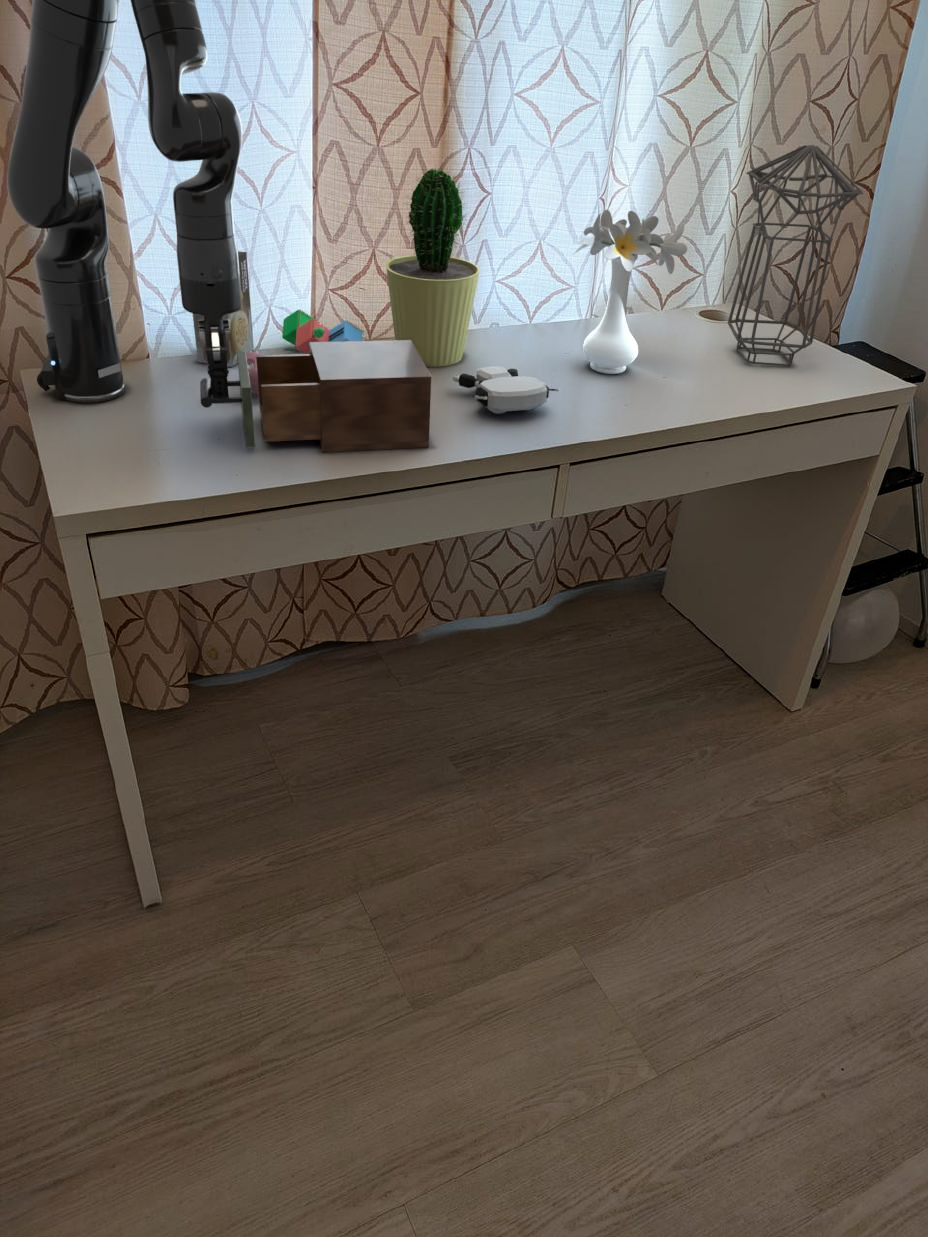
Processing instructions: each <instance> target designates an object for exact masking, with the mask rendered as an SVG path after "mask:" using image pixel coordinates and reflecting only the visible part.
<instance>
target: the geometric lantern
mask: <svg viewBox="0 0 928 1237" xmlns="http://www.w3.org/2000/svg"><path fill="white" fill-rule="evenodd" d="M806 158H807V161H806V165H805V168H804V172H803V176H802V177H801V176H800V177H799V176H798V177H797V176H794V177H793V176H792V175H793V174H794V173H795V172H796V171H797V169H798V168H799V167H800V166H801V164H802V163H803V161H804V160H805V159H806ZM812 163H813V164H812ZM778 164H779V165H778ZM811 164H812V165H813V171H814V174H810V175H809V172H810V169H811V168H810V167H811ZM818 164H819V166H820V168H821V169H822V172H823V173H819V168H818ZM776 165H778V166H776ZM773 166H776V167H774V169H772V170H770V171H769V172H765V171H764V170H767V169H769V168H772V167H773ZM788 171H789V173H788V174H787V175H786V173H787V172H788ZM827 171H828V172H829V174H830V175H829V174H828V173H827ZM746 175H748V178H749V182H750V186H751V191H752V194H753V197H752V200H753V201H754V202H755V203H758V207H757V208H758V209H757V222H753V223H752V228H751V232H750V237H749V240H748V245H747V247H746V252H745V255H744V258H743V259H744V260H743V263H742V267H741V271H740V275H739V279H738V282H737V286H736V290H735V294H734V298H733V301H732V306H731V309H730V311H729V316H728V320H727V325H728V327H729V329H730V330H731V332H732V334H733V336H734V338H735V340H736V341H737V344H736V349H735V350H736V351H737V353H738V354H739V355H740V356H741V357H742V358H743V360H744V361H745V362H746V363H747V364H752V365H761V366H762V365H764V366H780V367H791V366H792V365H793V360H794V357H795V354H797V353H798V352H799V351H801V350H803V349H806V348H807V347H809V346H810V345H812V344H813V343H814V335H815V331H816V325H817V319H818V315H819V309H820V305H821V298H822V294H823V289H824V288H823V287H824V283H825V279H826V278H825V277H826V272H827V268H828V262H829V257H830V251H831V246H832V243H833V241H834V239H833V237H834V234H835V231H836V229H837V228H836V227H837V225H838V222H839V219H840V216H841V212H842V210H845V207H846V206H847V205H849V204H850V203H851V202H852V201H853V200H855V198H857V197H858V196H859V195H863V194H864V191H863V190H861V188H859V186H857V184H856V183H855V182H854V181H853V180H851V178H850V177H849V176H848V175H847V174H846V173H845V172H844V171H843V170H842V169H841V168H840V167H839V166H838V164H836V163H835V162H834V161H833V160H832V159H831V158H830V157H829V156H828V155H827V154H826V153H825V152H824V151H823V150H822V148H820V146H818V145H815V144H813V145H812V144H808V145H806V144H804V145H802V146H799V147H797V148H796V149H794V150H791V151H790V152H787V153H785V154H783V155H781V156H779V157H777V158H774V159H772V160H770V161H768V162H766V163H764V164H762V165H760V166H757V167H756V168H753V169H751V170H748V171H747V172H746ZM827 178H830V179H831V178H832V179H833V181H834V192H832V193H831V192H830V193H822V191H821V185H820V184H821V183H822V182H823V181H824V180H826V179H827ZM772 179H773V180H772ZM812 179H814V180H815V181H814V182H813V183H812V184H810V185H809V186H807V187H806V188H805V185H806V182H807V181H809V180H812ZM771 180H772V181H771ZM779 180H782V182H781V183H780V184H779V185H778V186H777V185H775V184H776V183H777V182H778V181H779ZM788 181H791V182H801V183H800V185H799V189H791V188H786V186H787V183H788ZM813 188H816V189H815V190H816V192H809V191H811V190H812V189H813ZM839 188H840V189H841V191H842V192H839ZM760 189H761V190H762V189H764V190H763V192H762V194H761V195H760ZM769 190H770V191H774V192H776V194H777V195H778V196H777V197H776V199H774V202H773V203H772V205H771V206H770V208H769V209H768V210H767V212H766V214H765V215H764V209H763V204H762V202H763V200H764V198H765V197H766V196H767V194H768V192H769ZM802 197H812V198H813V197H815V198H816V200H815V207H814V208H815V209H807V207H806V204H805V203H804V200H803V198H802ZM789 198H793V199H798V200H797V207H796V206H795V205H794V203H792V202H791V201H790V200H789ZM822 198H823V199H824V198H834V200H833V201H831V202H829V203H827V204H825V205H822V206H821V207H819V203H820V200H821V199H822ZM780 199H782V200H783V201H784V202H785V203H786V204H787V205H788V206H789V207H790V209H791V210H792V211H793V212H794V215H793V216H792V217H791V218H790V219H789V220H788V221H787V222H786V223H781V222H780V223H779V222H766V221H767V219H768V217H769V216H770V214H771V213H772V212H773V210H774V208H775V207H776V205H777V204H778V202H779V201H780ZM842 202H843V203H842ZM841 203H842V204H841ZM801 205H802V207H803V210H801ZM828 208H830V209H829V210H828V212H827V213H826V214H825V216H824V217H823V219H822V220H821V216H820V212H821V211H824V210H826V209H828ZM836 208H837V209H838V212H837V217H836V219H835V222H834V226H833V228H832V231H831V233H830V235H828V234H827V233H826V232H825V231H823V225H824V224H825V222H826V221H827V220H828V218H829V217H830V215H831V214H832V213H833V211H834V210H835V209H836ZM810 214H811V215H812V214H815V216H816V220H817V226H814V224H813V223H812V220H811V218H810ZM798 215H806V218H807V219H808V222H809V224H803V223H802V224H800V223H799V224H798V223H791V222H792V221H793V220H795V218H797V216H798ZM766 226H777V227H778V226H779V227H781V228H780V229H779V230H778V231H777V232H776V233H775V234H774V235H773V236H770V235H768V234H767V231H766ZM786 227H800V228H807V229H806V230H807V231H806V235H805V238H795V237H794V238H793V237H780V236H778V235H779V234H780V233H781V232H782V231H783V230H784V229H785V228H786ZM811 230H812V231H815V233H814V238H813V239H811V238H810V234H811ZM756 231H758V235H757V238H756V242H755V246H754V249H753V253H752V256H751V260H750V263H749V268H748V271H747V275H746V278H745V282H744V286H743V290H742V293H741V297H740V301H739V305H738V308H737V312H736V315H735V319H733V316H734V312H735V308H736V305H737V301H738V297H739V293H740V290H741V286H742V282H743V280H744V279H743V278H744V276H745V272H746V267H747V263H748V259H749V256H750V252H751V248H752V244H753V241H754V237H755V233H756ZM819 234H820V239H818V236H819ZM761 237H762V239H761ZM825 238H826V239H825ZM766 240H769V246H768V251H767V255H766V260H765V265H764V270H763V276H762V280H761V281H762V282H761V286H760V291H759V297H758V302H757V307H756V312H755V316H754V319H746V316H747V312H748V310H749V309H748V308H749V304H750V302H751V298H752V293H753V290H754V287H755V282H756V278H757V275H758V271H759V267H760V264H761V261H762V260H761V259H762V257H763V253H764V252H763V251H764V247H765V243H766ZM775 240H778V241H791V242H792V241H793V242H803V246H802V250H801V254H800V258H799V263H798V265H797V268H796V269H797V270H796V274H795V278H794V281H793V285H792V289H791V293H790V296H789V297H790V298H789V301H788V305H787V308H786V313H785V316H784V319H783V320H768V319H767V320H766V319H759V317H760V312H761V307H762V303H763V302H762V301H763V297H764V293H765V292H764V291H765V286H766V282H767V277H768V272H769V267H770V261H771V257H772V252H773V247H774V242H775ZM760 242H761V243H760ZM808 243H812V247H811V253H810V257H809V258H810V259H809V261H808V262H809V263H808V268H807V274H806V279H805V284H804V289H803V294H802V299H801V305H800V309H799V315H798V319H797V324H795V323H793V322H790V321H788V319H789V315H790V312H791V309H792V306H793V305H792V304H793V301H794V297H795V293H796V289H797V286H798V282H799V278H800V274H801V270H802V267H803V262H804V259H805V254H806V251H807V247H808ZM817 243H819V249H818V253H817V254H818V255H817V260H816V265H815V271H814V276H813V282H812V288H811V293H810V299H809V304H808V309H807V316H806V322H805V326H804V329H803V328H802V327H801V325H802V320H803V314H804V309H805V305H806V299H807V295H808V289H809V283H810V279H811V274H812V273H811V272H812V269H813V263H814V258H815V252H816V247H817ZM825 244H827V245H826V246H827V247H826V251H825V255H824V261H823V266H822V273H821V277H820V282H819V288H818V292H817V298H816V302H815V309H814V314H813V320H812V324H811V330H810V334H809V335H810V336H808V332H809V327H810V321H811V316H812V310H813V305H814V301H815V300H814V299H815V294H816V288H817V283H818V277H819V271H820V266H821V262H822V256H823V249H824V245H825ZM759 246H760V247H759ZM758 249H759V251H758ZM757 253H758V255H757ZM756 257H757V259H756ZM755 261H756V263H755ZM754 263H755V267H754ZM753 267H754V271H753ZM752 272H753V274H752ZM751 274H752V278H751ZM750 278H751V282H750V285H749V281H750ZM748 285H749V286H748ZM748 287H749V289H748ZM747 289H748V293H747ZM746 293H747V297H745V296H746ZM745 298H746V301H745V304H744V308H743V303H744V300H745ZM742 308H743V311H742ZM741 311H742V316H741V318H740V315H741ZM739 323H740V324H739ZM745 323H747V324H753V327H752V333H751V337H743V336H742V333H743V329H744V324H745ZM733 324H735V327H736V329H737V331H736V329H735V327H734V325H733ZM758 324H771V325H781V327H780V330H779V332H778V334H777V337H756V333H757V328H758ZM785 325H787V326H790V327H792V328H794V329H792V330H791V331H790V332H788V334H786V335H785V336H784V337H783V338H782V339H780V337H781V335H782V332H783V330H784V328H785ZM797 330H798V331H799V333H800V334H801V335H802V336H803V338H802V343H801V344H795V343H786V342H785V340H787V338H789V337H790V336H792V334H793V333H794V332H796V331H797ZM769 341H773V342H769ZM746 344H749V345H751V347H748V346H747V345H746ZM756 346H769V347H772V348H763V347H761V348H760V347H756ZM776 347H778V349H776ZM782 347H783V348H787V349H788V350H789V351H790V352H791V353H789V352H783V351H782V350H781V349H782ZM792 348H796V349H795V350H794V349H792ZM742 350H745V351H746V352H747V353H748V354H747V357H746V356H745V355H744V354H743V352H742ZM751 355H753V359H752V360H750V358H751ZM757 355H770V356H782V357H783V359H785V360H786V362H787V363H779V362H765V361H764V362H761V361H756V358H757ZM787 356H788V357H787Z"/></svg>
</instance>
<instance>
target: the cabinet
mask: <svg viewBox="0 0 928 1237" xmlns="http://www.w3.org/2000/svg"><path fill="white" fill-rule="evenodd" d="M309 352H310V354H311V355H312V359H313V362H314V365H315V369H316V372H317V375H318V379H319V382H320V400H321V434H322V439H318V440H319V443H320V447H321V452H322V453H336V452H337V453H338V452H355V451H357V452H358V451H378V450H399V449H400V450H402V449H421V448H429V447H430V426H431V422H430V421H431V397H432V374H431V373H430V371H429V370H428V368H427V366H425V364H424V362H423V361H422V359H421V357H420V355H419V353H418V352H417V350H416V348H415V346H414V344H413V343H412V341H411V340H395V339H394V340H362V341H343V342H309Z"/></svg>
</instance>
